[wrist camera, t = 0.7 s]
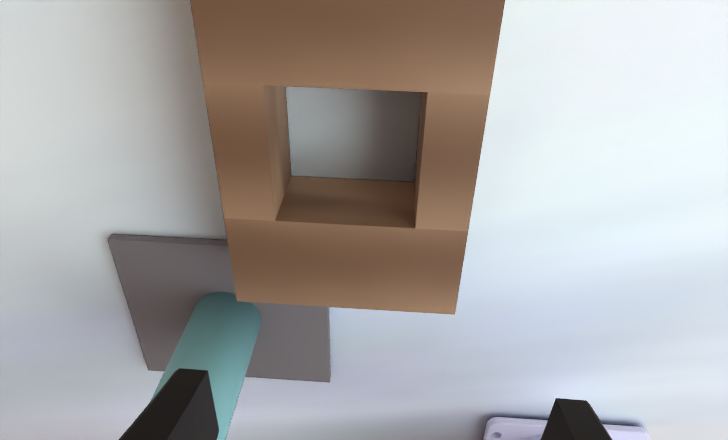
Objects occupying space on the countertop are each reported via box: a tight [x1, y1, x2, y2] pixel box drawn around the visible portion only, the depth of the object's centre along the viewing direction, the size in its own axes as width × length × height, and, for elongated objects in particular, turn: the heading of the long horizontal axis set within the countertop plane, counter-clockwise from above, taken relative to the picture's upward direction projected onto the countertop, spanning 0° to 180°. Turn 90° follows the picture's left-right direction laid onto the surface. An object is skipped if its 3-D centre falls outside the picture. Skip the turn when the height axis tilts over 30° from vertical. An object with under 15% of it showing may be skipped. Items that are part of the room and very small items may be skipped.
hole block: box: [190, 0, 505, 314], centre depth 17 cm, size 12×8×3 cm, turn 179°
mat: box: [108, 234, 331, 382], centre depth 24 cm, size 8×9×1 cm
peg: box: [150, 292, 261, 440], centre depth 20 cm, size 3×3×9 cm
